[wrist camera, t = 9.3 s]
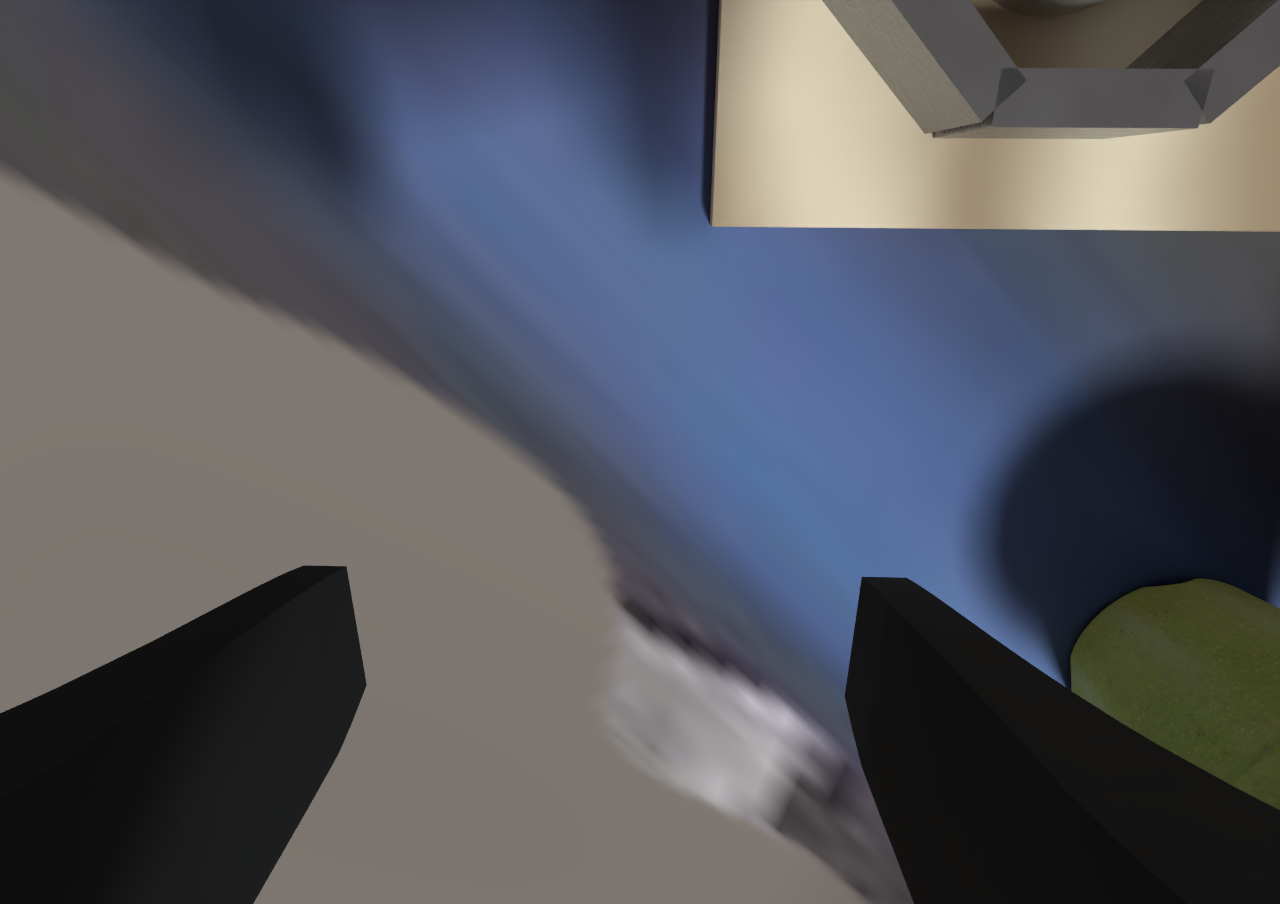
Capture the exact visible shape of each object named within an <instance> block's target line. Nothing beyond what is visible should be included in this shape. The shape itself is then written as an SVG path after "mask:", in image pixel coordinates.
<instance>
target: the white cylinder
mask: <svg viewBox="0 0 1280 904" xmlns="http://www.w3.org/2000/svg"><path fill="white" fill-rule="evenodd" d="M992 1H994V2H995V3H997V4H998V5H1000V6H1001V7H1004V8H1006V9H1008V10H1011V11H1013V12H1016V13H1019V14H1023V15H1027V16H1036V17H1054V16H1062V15H1067V14H1072V13H1076V12H1079V11H1081V10H1084V9H1087V8H1090V7H1092V6H1095V5H1097V4H1100V3H1102V2H1104V1H1107V0H992Z"/></svg>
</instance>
